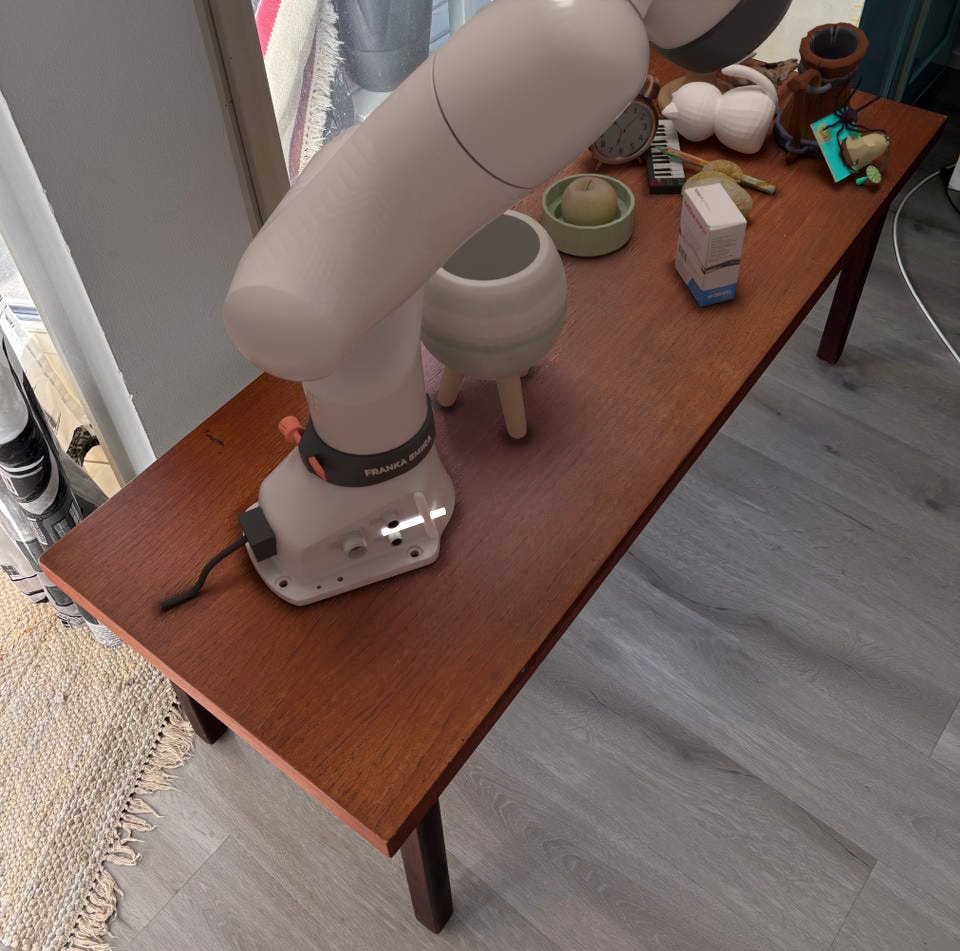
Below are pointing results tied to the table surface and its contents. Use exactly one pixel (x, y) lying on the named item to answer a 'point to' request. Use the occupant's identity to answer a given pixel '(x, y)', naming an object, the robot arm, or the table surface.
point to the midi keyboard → (664, 161)
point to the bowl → (587, 237)
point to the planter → (496, 310)
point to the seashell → (723, 182)
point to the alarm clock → (630, 128)
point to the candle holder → (690, 77)
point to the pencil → (701, 163)
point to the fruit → (589, 202)
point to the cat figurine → (726, 111)
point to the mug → (819, 84)
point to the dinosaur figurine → (768, 74)
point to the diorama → (850, 141)
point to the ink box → (710, 243)
